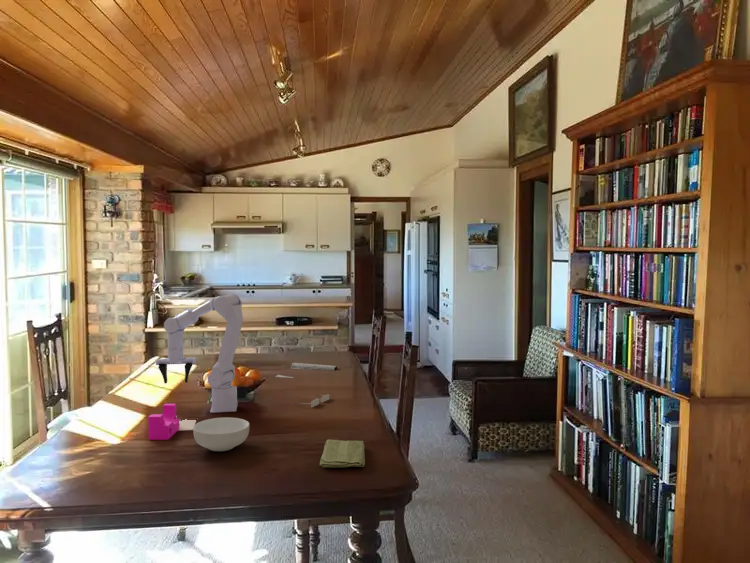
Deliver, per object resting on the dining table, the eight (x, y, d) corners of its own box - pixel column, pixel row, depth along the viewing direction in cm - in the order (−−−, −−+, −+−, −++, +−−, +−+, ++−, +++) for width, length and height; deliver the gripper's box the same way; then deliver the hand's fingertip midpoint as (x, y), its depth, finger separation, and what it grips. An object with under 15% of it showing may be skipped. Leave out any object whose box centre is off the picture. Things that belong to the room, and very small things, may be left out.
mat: (274, 382, 262) (273, 372, 262) (294, 371, 285) (294, 362, 285) (320, 385, 256) (320, 375, 256) (337, 373, 279) (337, 364, 278)
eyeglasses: (310, 411, 215) (310, 401, 215) (293, 408, 219) (293, 398, 219) (330, 402, 227) (330, 393, 227) (314, 400, 231) (314, 390, 231)
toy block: (168, 439, 181) (167, 416, 181) (148, 439, 181) (148, 416, 181) (183, 424, 196) (183, 403, 196) (165, 424, 196) (165, 403, 196)
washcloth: (318, 469, 158) (318, 458, 158) (324, 447, 176) (324, 437, 176) (365, 469, 158) (365, 458, 158) (366, 447, 176) (366, 437, 176)
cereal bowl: (219, 461, 163) (219, 437, 163) (181, 450, 172) (181, 427, 172) (260, 444, 178) (260, 422, 177) (223, 434, 186) (223, 413, 186)
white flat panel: (199, 413, 211) (199, 412, 211) (192, 430, 191) (192, 429, 191) (160, 415, 208) (160, 414, 208) (149, 432, 189) (149, 431, 189)
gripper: (196, 345, 225) (196, 379, 226) (157, 346, 222) (158, 380, 223) (193, 348, 218) (194, 383, 219) (154, 349, 215) (155, 385, 216)
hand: (176, 382), depth 220 cm, fingers open, 7 cm apart
